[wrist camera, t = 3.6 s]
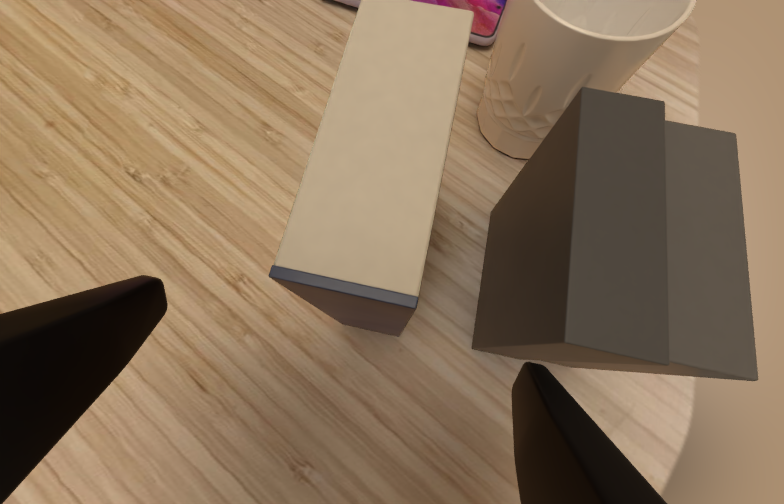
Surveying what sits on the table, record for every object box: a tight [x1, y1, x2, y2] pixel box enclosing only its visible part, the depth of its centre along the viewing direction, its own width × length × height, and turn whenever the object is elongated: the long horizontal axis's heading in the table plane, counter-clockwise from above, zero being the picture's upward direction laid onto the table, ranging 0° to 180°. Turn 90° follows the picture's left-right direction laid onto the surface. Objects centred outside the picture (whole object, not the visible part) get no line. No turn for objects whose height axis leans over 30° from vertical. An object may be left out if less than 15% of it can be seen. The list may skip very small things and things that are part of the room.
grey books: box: [472, 87, 758, 381], centre depth 16 cm, size 9×6×11 cm, turn 168°
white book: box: [269, 0, 474, 337], centre depth 15 cm, size 9×4×13 cm, turn 168°
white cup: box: [477, 0, 697, 159], centre depth 20 cm, size 8×8×10 cm
